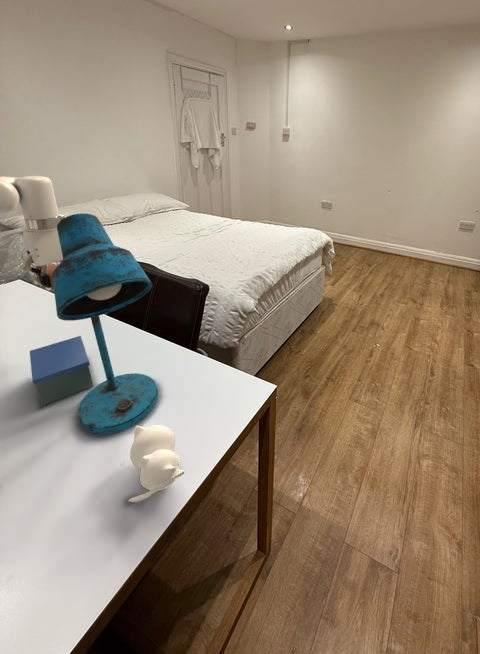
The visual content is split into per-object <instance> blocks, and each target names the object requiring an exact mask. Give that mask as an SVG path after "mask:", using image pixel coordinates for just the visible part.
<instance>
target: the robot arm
mask: <svg viewBox="0 0 480 654" xmlns="http://www.w3.org/2000/svg"><path fill="white" fill-rule="evenodd" d="M18 205H20V208H21V212H22V215H23V219H24V223H25V227H26V228H25V229H23V231H22V239H23V248H24V254H25V259H24V260H23V262H22V264H21V266H20V269H22V270H23V271H24V270H25V271H27V272H31V273H34V274H35V275H36V274H38V275H39V279H40V283H39V284H40V285H41V286H43V287H44V288H48V289H51V283H50V279H49V275H48V274H46V267H47V266H48V265H52V264H54V263H57V262H61V261H62V260H63V256H62V251H61V246H60V241H59V236H58V231H57V224H58V223H59V222H60V221H61V220H62V219H63V218H65V215H64V214H60V213H59V208H58V203H57V198H56V194H55V190H54V185H53V181H52V180H51V179H50V177H47V176H44V175H26V176H20V177H19V176H3V175H2V176H0V214H4V213H8V212H11V211H13V210H15V209H16V208H17V207H18ZM32 264H34V265H35V267H34V266H31V265H32Z"/></svg>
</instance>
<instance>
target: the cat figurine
mask: <svg viewBox="0 0 480 654" xmlns="http://www.w3.org/2000/svg"><path fill="white" fill-rule="evenodd" d="M133 430H134V431H133V435H134V437H133V441H132V443H131V447H130V451H129V457H130V461H131V463H132V465H133V466H134V467H135V468H136V469H139V470H140V474H139V480H140V484H141V486H143V487H144V488H145V489H146V490H149V491H147V492H144V493H142V494H138V495H135V496H133V497H131V498H129V499H128V502H130V503H137V502H141V501H143V500H145V499H148V498H149V497H150V496H152V495H153V494H155V493H157V491H162V490H165V489H168V488H169V487H170V486H171V485H173V483H174V482H175V481H176V480H177V479H178V478H180V477H182V476H183V475H185V470H184V469H181V460H180V456H179V455H178V454H177V452H174V450H175V447H176V436H175V434H174V432H173V430H172V429H170V428H169V427H168V426H165V425H163V424H153V425H150V426H146V427H144V426H141V425H135V427H134V429H133Z"/></svg>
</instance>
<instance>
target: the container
mask: <svg viewBox="0 0 480 654" xmlns="http://www.w3.org/2000/svg"><path fill="white" fill-rule="evenodd" d="M29 358H30V359H29V361H30V370H31V380H32V384H33V385H34V386H35V387H36V390H37V393H38V396H39V399H40V402H41V405H42V406H45V405H49V404H51V403H54V402H56V401H59V400H61V399H64V398H66V397H69V396H71V395H74V394H77V393H79V392H81V391H84V390H87V389H90V388H93V387H94V383H93V379H92V375H91V374H92V373H91V371H90V367H89V366H91V364H90V363H91V362H90V361H89V356H88V354H87V351H86V348H85V345H84V342H83V339H82V336H81V335H78V336H75V337H72V338H68V339H65V340H61V341H58V342H55V343H51V344H48V345H44V346H41V347H38V348H35V349H31V350H29Z"/></svg>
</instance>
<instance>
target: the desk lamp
mask: <svg viewBox="0 0 480 654" xmlns="http://www.w3.org/2000/svg"><path fill="white" fill-rule="evenodd" d="M64 217H65V216H64ZM99 219H100V218H98V217H97V215H94V214H91V213H84V212H82V213H81V212H79V213H74V214H70V215H68V216H66V217H65V218H63V219H62V220H61V221H60V222H59V223H58V224H57V231H58V236H59V241H60V246H61V251H62V256H63V260H62V261H60V263H59V264H58V265H57V268H56V269H55V270H54V272H53V275H52V276H53V285H54V289H53V292H54V293H53V294H54V302H55V310H56V316H57V318H58V319H59V320H61V321H65V322H66V321H68V322H69V321H70V322H71V321H81V320H87V319H91V320H90V321H91V325H92V329H93V332H94V336H95V340H96V343H97V348H98V351H99V355H100V359H101V363H102V367H103V370H104V375H105V378H106V380H104V381H102V382H101V383H98V384H97V385H95V386H94V387H92V389H91V390H89V392H88V393H87V394H86V395H85V396H84V397H83V399H82V401H80V403H79V408H78V416H79V422H80V425H81V426H82V427H83V429H84V430H86V431H88V432H90V433H92V434H99V435H106V434H114V433H117V432H121V431H125V430H127V429H129V428H132V427H134V426H136V424H139V422H141V421H142V420H144V419H145V418H146V417H147V416H148V415H149V414H150V413H151V412H152V410H153V409H154V408H155V406H156V404H157V402H158V398H159V391H158V386H157V384H156V381H155V380H154V379H153V378H152V377H151V376H148V375H145V374H142V373H125V374H120V375H116V376H115V374H114V373H115V372H114V370H113V369H114V368H113V366H112V362H111V358H110V353H109V350H108V347H107V342H106V338H105V334H104V330H103V327H102V322H101V318H100V316H103V315H106V314H109V313H112V312H114V311H117V310H119V309H122V308H124V307H126V306H128V305H130V304H132V303H134V302H136V301H138V300H139V299H141V298H143V297H145V295H147V294H148V293H149V292H150V291H151V289H153V285H154V284H153V282H152V281H151V280H150V278H149V277H148V275H147V274H146V273H145V271H144V269H143V268H142V267H141V265H140V264H139V262H138V260H137V259H136V258H135V256H134V254H133V253H132V252H131V251H130V250H128V249H126V248H124V247H121V246H117V245H114V243H113V241H112V240H111V238H110V236H109V234H108V233H107V231H106V229H105V227H104V226H103V224H102V223H101V221H100V220H99Z"/></svg>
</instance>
